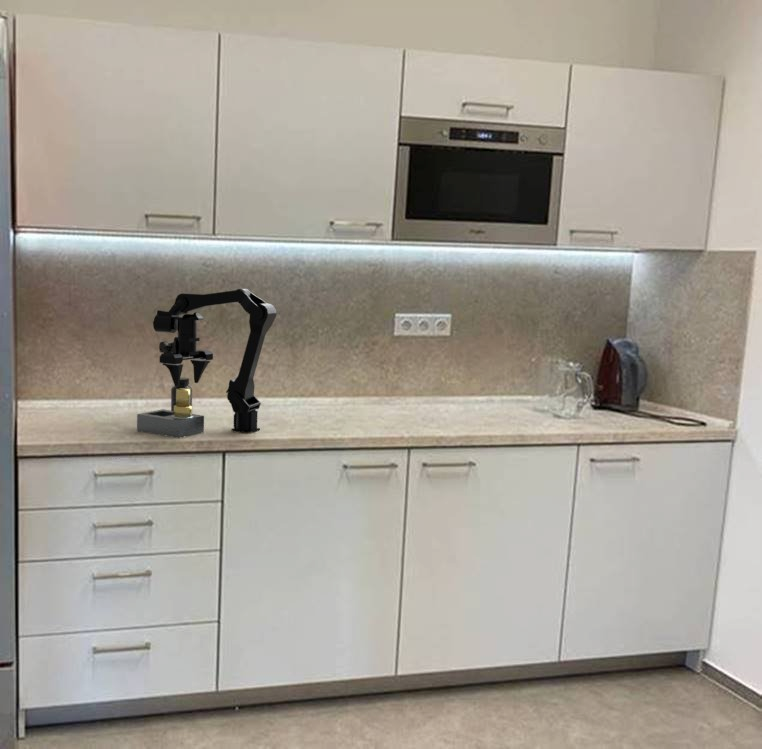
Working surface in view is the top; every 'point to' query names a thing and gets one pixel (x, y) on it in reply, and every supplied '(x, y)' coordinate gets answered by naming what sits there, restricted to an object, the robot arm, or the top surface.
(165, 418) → the housing
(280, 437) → the top surface
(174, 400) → the supplement bottle
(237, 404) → the robot arm
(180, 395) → the brass cap
